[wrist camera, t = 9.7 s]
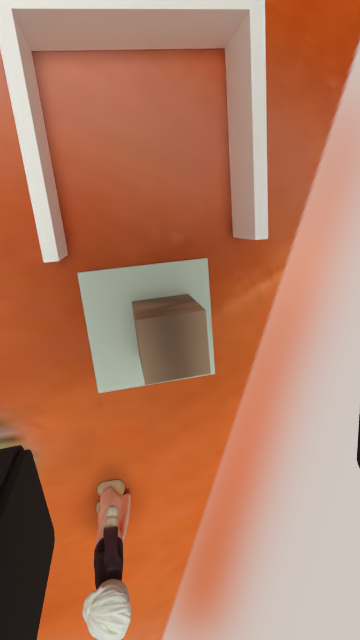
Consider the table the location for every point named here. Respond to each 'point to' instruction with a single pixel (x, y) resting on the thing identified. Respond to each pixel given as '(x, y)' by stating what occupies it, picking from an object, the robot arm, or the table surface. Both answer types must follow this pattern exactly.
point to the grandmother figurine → (109, 566)
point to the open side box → (141, 34)
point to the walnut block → (171, 338)
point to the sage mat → (117, 314)
